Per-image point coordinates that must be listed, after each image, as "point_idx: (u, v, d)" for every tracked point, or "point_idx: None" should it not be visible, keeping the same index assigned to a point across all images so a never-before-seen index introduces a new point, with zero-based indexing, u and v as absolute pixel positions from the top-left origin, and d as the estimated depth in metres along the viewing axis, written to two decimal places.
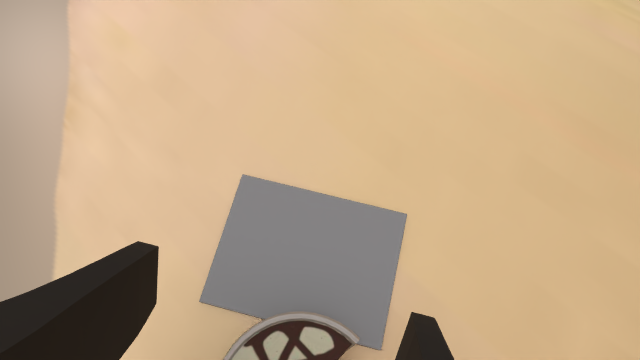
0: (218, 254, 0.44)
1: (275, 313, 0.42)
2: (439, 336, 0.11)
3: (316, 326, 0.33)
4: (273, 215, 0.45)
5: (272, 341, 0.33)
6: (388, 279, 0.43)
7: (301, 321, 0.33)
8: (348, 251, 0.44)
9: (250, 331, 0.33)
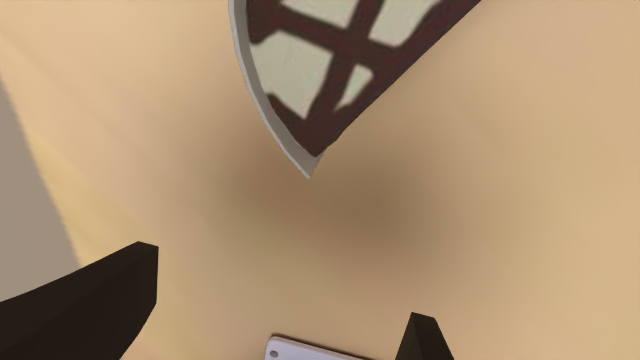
0: None
1: None
2: (439, 336, 0.11)
3: None
4: None
5: None
6: None
7: None
8: None
9: None
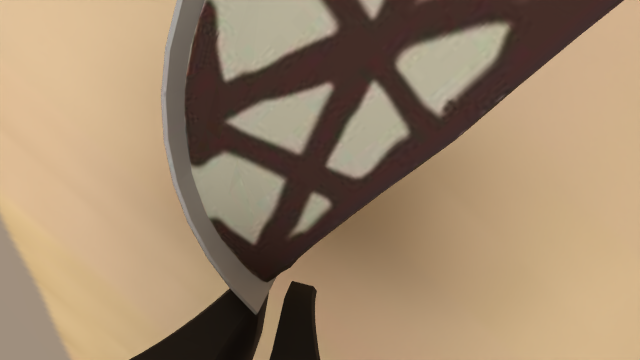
0: None
1: None
2: (308, 301, 0.11)
3: None
4: None
5: None
6: None
7: None
8: None
9: None
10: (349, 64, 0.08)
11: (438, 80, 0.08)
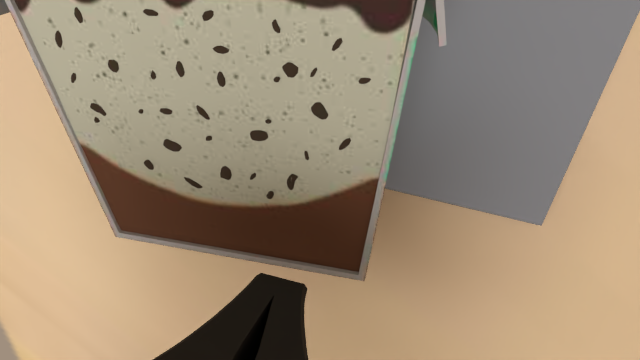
0: None
1: None
2: (297, 299, 0.11)
3: None
4: None
5: None
6: (595, 69, 0.16)
7: None
8: None
9: None
10: None
11: None
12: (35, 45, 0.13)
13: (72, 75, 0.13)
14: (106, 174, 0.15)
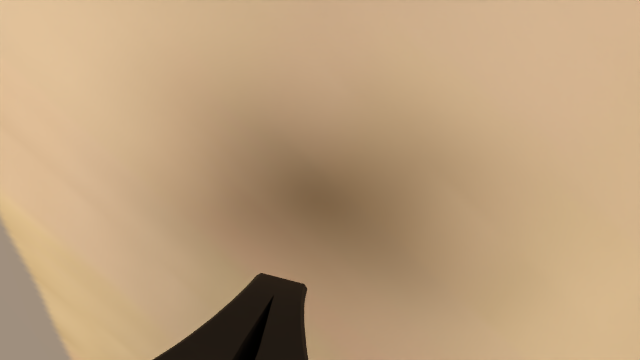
0: None
1: None
2: (297, 299, 0.11)
3: None
4: None
5: None
6: None
7: None
8: None
9: None
10: None
11: None
12: None
13: None
14: None
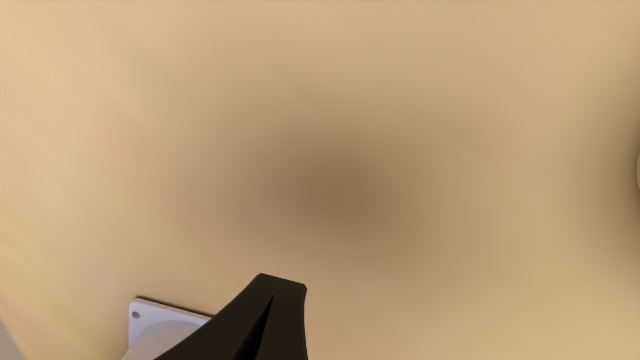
0: None
1: None
2: (297, 299, 0.11)
3: None
4: None
5: None
6: None
7: None
8: None
9: None
10: None
11: None
12: None
13: None
14: None
